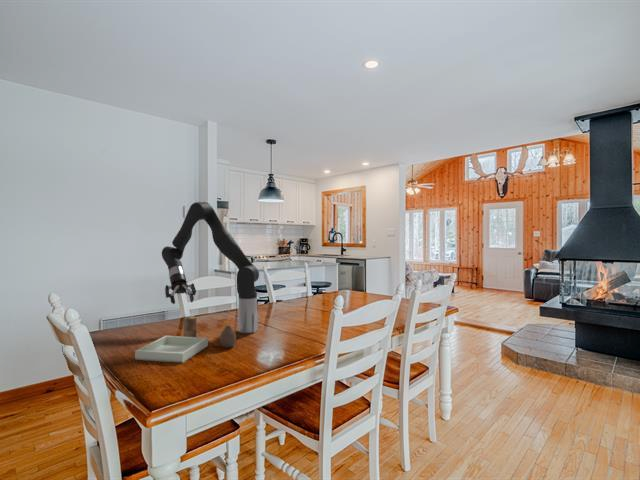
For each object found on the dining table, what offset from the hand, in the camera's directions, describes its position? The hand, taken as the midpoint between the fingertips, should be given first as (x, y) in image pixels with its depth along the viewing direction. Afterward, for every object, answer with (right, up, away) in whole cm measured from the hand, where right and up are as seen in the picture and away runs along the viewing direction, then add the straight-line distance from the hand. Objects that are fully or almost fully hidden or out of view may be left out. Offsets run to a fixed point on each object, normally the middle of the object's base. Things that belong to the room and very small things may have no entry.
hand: (183, 302), depth 165 cm
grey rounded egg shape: (+28, -16, -19) cm, 37 cm away
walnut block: (+7, -16, -9) cm, 19 cm away
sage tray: (+7, -16, -27) cm, 32 cm away
